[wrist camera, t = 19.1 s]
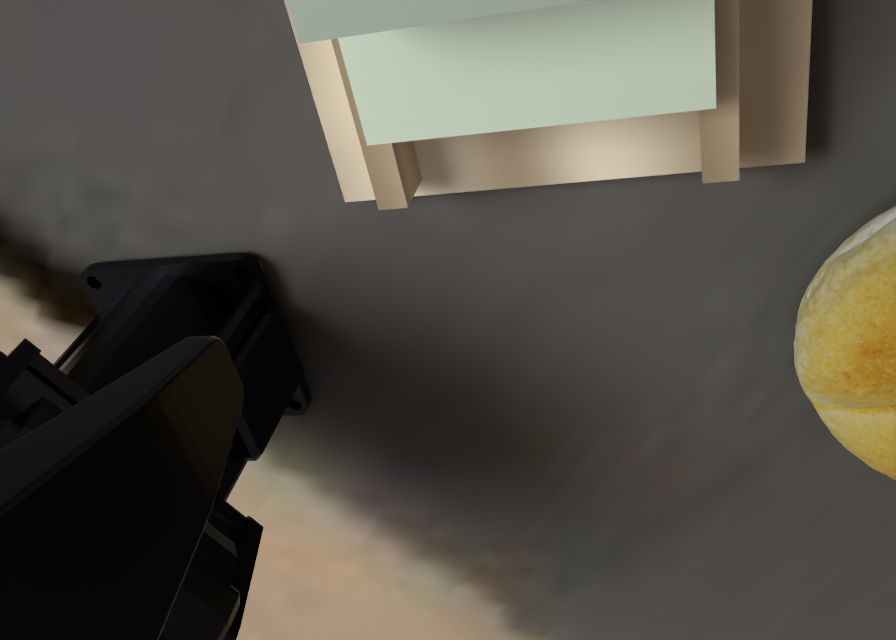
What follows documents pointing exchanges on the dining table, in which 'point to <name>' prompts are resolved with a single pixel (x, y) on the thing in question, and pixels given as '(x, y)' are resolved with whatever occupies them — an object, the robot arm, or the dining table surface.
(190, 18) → the dining table surface
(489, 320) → the dining table surface
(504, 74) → the lid
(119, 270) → the robot arm
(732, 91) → the board
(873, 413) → the bread roll
